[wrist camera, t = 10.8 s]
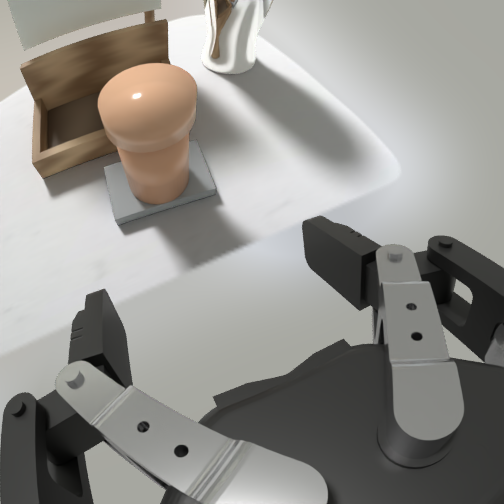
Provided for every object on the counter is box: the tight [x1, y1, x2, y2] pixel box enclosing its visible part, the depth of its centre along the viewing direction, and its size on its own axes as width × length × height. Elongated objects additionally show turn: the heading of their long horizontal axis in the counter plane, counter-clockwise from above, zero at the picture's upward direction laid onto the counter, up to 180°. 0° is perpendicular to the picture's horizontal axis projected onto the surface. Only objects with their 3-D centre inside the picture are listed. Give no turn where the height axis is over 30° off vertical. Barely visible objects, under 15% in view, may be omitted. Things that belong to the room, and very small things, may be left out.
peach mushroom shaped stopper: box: [98, 63, 197, 204], centre depth 19 cm, size 6×6×9 cm
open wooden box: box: [20, 10, 171, 178], centre depth 21 cm, size 14×13×12 cm
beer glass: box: [201, 0, 273, 74], centre depth 24 cm, size 7×7×15 cm
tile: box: [104, 140, 216, 225], centre depth 24 cm, size 8×5×1 cm, turn 112°
